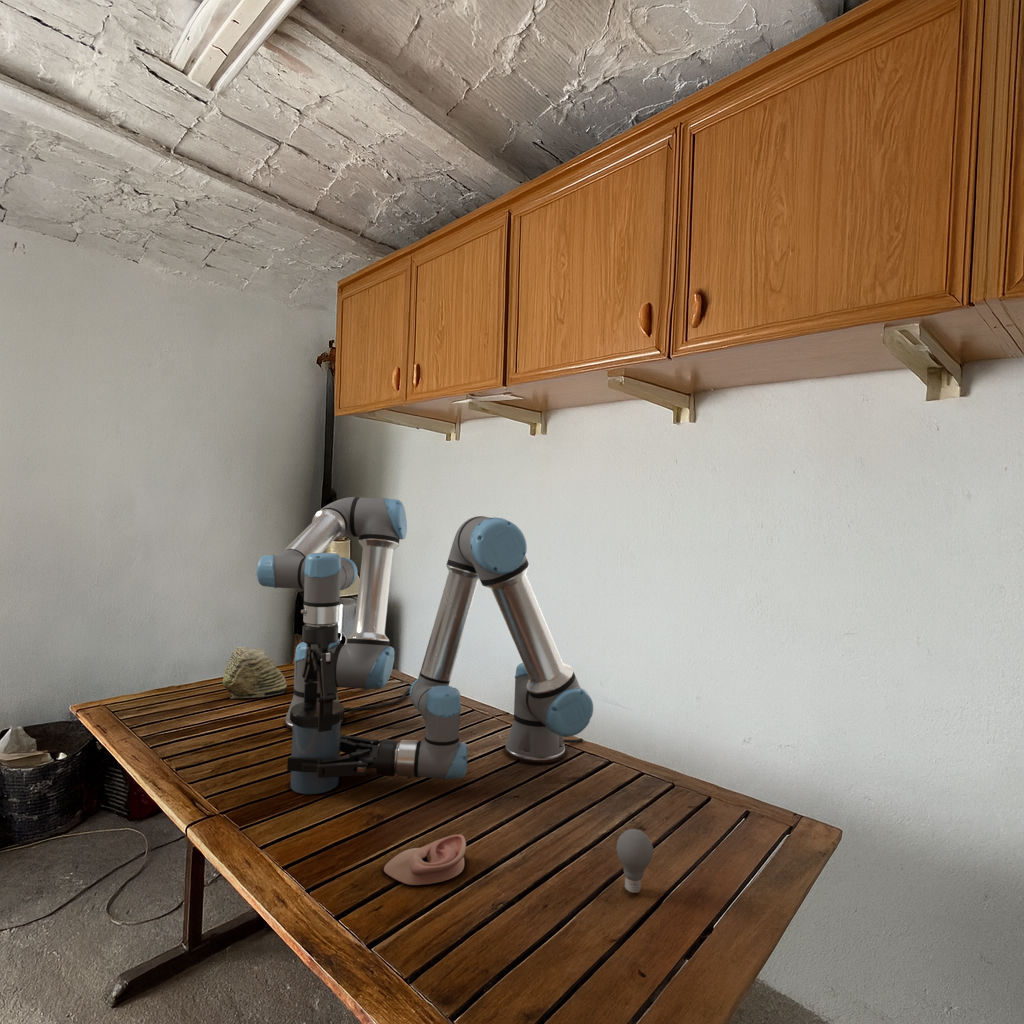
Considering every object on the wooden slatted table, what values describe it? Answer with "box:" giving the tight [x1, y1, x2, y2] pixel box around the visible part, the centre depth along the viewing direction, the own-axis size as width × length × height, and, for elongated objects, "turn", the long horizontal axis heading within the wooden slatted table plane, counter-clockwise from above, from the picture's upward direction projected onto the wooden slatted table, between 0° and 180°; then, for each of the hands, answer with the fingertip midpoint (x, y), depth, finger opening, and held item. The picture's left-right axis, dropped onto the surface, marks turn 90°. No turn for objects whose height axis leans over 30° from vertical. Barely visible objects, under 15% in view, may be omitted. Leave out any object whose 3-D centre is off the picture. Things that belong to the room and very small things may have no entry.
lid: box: [290, 700, 345, 727], centre depth 139 cm, size 11×11×2 cm
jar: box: [289, 721, 342, 795], centre depth 140 cm, size 10×10×16 cm
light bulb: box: [615, 828, 654, 894], centre depth 106 cm, size 6×6×10 cm
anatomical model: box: [383, 834, 467, 886], centre depth 110 cm, size 13×4×12 cm
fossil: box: [222, 646, 288, 699], centre depth 198 cm, size 9×18×15 cm, turn 132°
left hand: (317, 721), depth 139 cm, fingers open, 12 cm apart
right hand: (296, 753), depth 140 cm, fingers closed on jar, 10 cm apart
